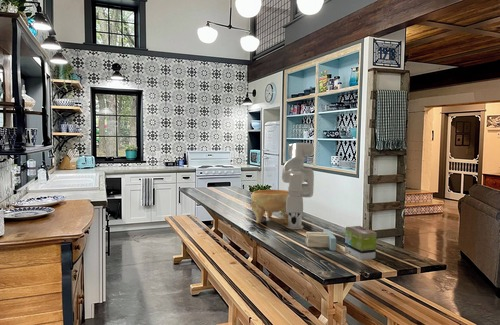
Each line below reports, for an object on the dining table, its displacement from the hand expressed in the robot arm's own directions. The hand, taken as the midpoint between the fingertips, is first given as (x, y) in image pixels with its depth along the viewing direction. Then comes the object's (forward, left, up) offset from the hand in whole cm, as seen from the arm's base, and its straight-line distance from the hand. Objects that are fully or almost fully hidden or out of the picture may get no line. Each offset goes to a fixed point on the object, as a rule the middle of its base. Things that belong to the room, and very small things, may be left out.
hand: (293, 223), depth 221 cm
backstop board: (+1, +22, -12) cm, 25 cm away
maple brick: (+1, +14, -13) cm, 19 cm away
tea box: (+18, +35, -13) cm, 41 cm away
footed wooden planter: (-59, -7, -13) cm, 61 cm away
